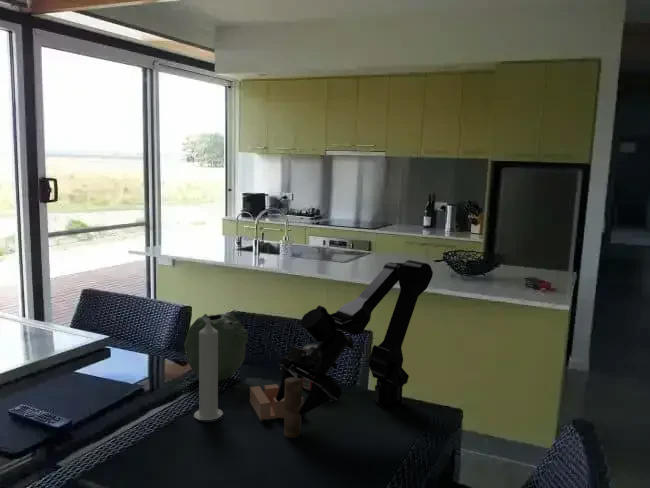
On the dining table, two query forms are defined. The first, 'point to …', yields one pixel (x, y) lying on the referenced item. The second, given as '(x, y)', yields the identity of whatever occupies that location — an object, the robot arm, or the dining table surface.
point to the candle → (208, 374)
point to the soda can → (306, 383)
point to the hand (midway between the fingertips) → (288, 407)
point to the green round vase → (219, 343)
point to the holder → (267, 402)
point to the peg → (292, 407)
